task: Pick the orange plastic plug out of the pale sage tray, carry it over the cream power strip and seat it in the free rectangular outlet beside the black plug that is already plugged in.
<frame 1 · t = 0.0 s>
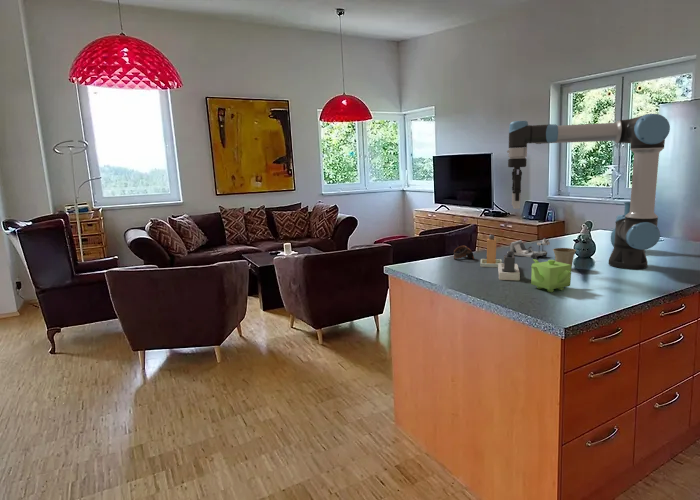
hand: (515, 207, 209), 28 cm above the worktop, fingers open, 13 cm apart
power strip: (508, 274, 204), on the worktop
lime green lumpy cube: (548, 288, 182), on the worktop
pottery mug: (463, 260, 237), on the worktop
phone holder: (529, 257, 241), on the worktop
vase: (627, 251, 244), on the worktop
flower pot: (563, 269, 212), on the worktop
tray: (491, 265, 222), on the worktop
plug: (491, 264, 222), resting on tray
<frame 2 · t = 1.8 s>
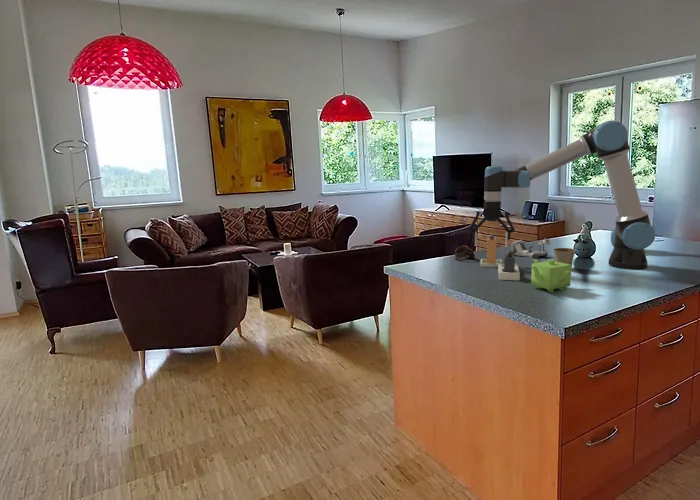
hand: (490, 246, 220), 9 cm above the worktop, fingers open, 13 cm apart
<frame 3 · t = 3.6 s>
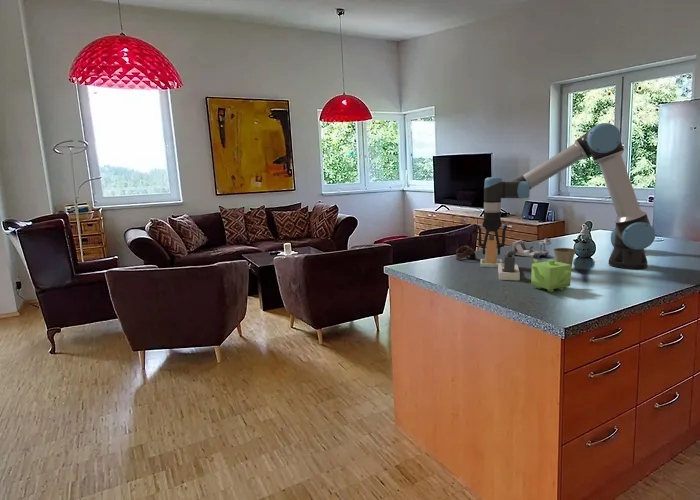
hand: (491, 261, 222), 2 cm above the worktop, fingers closed on plug, 4 cm apart
plug: (491, 264, 222), resting on tray, touching gripper
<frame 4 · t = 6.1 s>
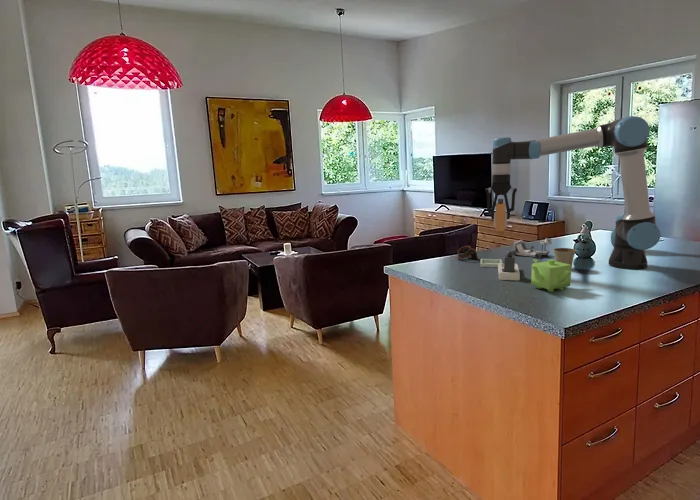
hand: (500, 226, 212), 19 cm above the worktop, fingers closed on plug, 4 cm apart
plug: (500, 230, 212), point 18 cm above the worktop, touching gripper
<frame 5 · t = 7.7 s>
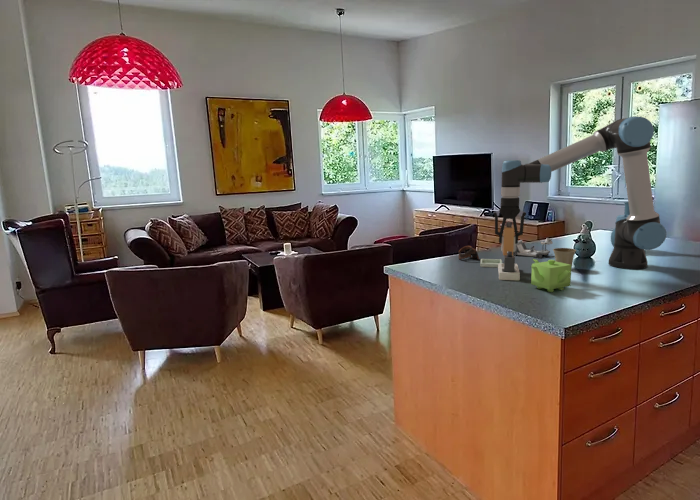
hand: (508, 250, 207), 10 cm above the worktop, fingers closed on plug, 4 cm apart
plug: (507, 254, 207), point 8 cm above the worktop, touching gripper
when the fingers open (4 cm above the worktop, at t = 8.9 s): plug drops 3 cm, resting in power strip.
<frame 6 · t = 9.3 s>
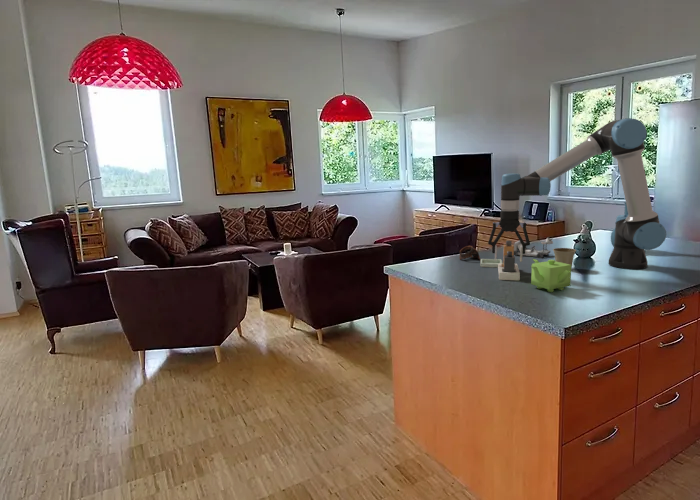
hand: (508, 260, 207), 5 cm above the worktop, fingers open, 10 cm apart
plug: (507, 272, 208), resting in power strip
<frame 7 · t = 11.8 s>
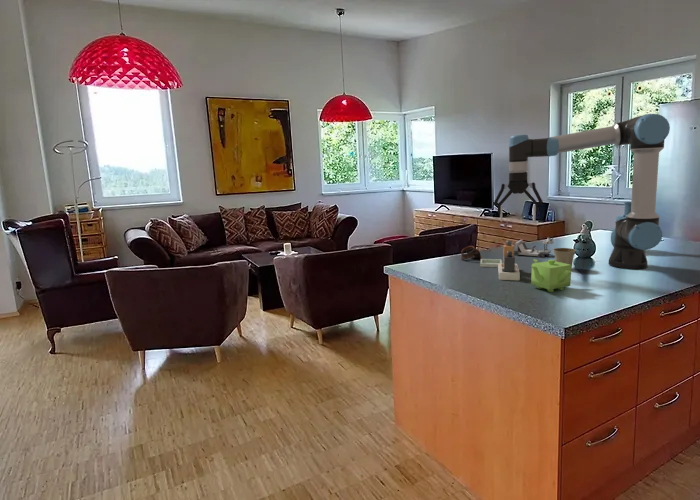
hand: (517, 220, 208), 22 cm above the worktop, fingers open, 13 cm apart
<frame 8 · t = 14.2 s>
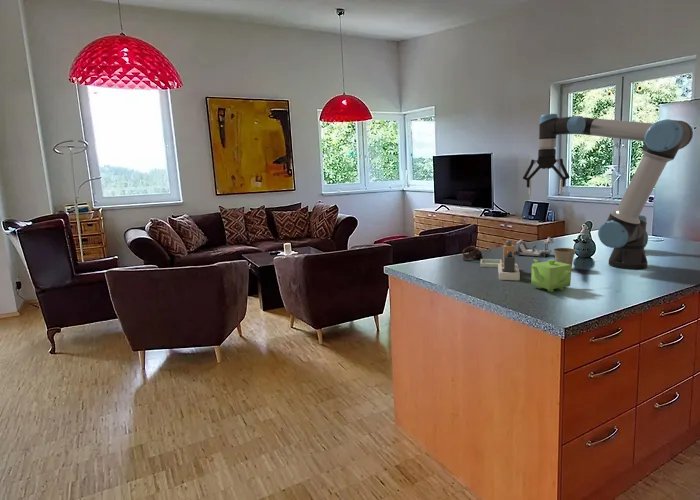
hand: (545, 194, 225), 32 cm above the worktop, fingers open, 13 cm apart
at the end: plug 0.0 cm from the target spot on the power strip, point 0.0 cm above the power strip's base; plug tilted 0°; the gripper is holding nothing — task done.
